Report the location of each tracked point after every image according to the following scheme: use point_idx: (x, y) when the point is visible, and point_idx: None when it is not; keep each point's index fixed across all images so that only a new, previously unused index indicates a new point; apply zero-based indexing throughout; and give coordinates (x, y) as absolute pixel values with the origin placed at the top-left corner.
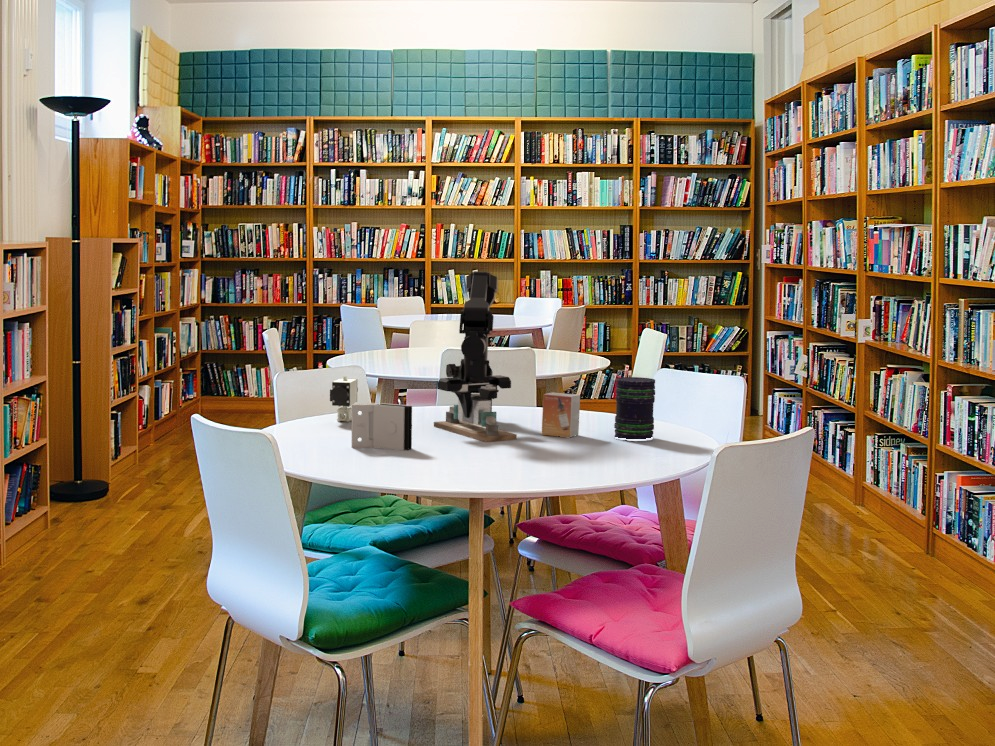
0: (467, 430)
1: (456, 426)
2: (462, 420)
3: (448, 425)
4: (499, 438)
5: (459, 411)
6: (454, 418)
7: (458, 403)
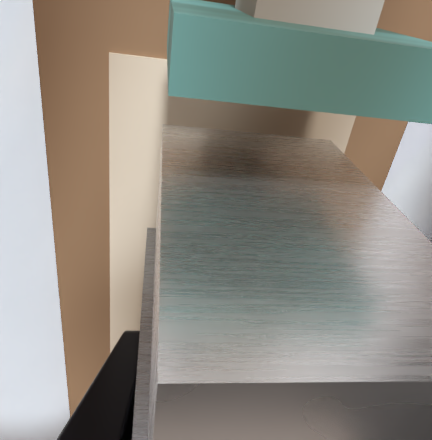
0: (95, 334)
1: (108, 154)
2: (147, 233)
3: (64, 36)
4: None
5: (159, 204)
6: (168, 23)
7: (162, 244)
